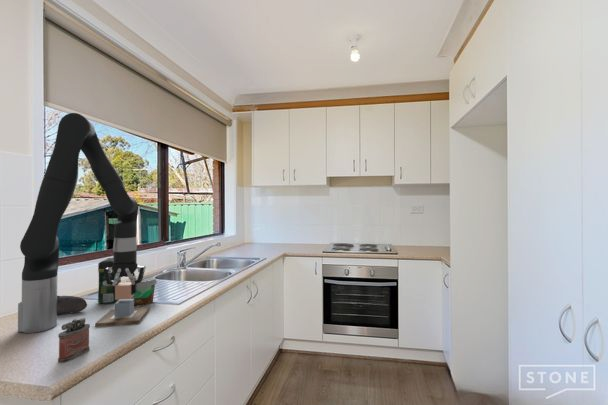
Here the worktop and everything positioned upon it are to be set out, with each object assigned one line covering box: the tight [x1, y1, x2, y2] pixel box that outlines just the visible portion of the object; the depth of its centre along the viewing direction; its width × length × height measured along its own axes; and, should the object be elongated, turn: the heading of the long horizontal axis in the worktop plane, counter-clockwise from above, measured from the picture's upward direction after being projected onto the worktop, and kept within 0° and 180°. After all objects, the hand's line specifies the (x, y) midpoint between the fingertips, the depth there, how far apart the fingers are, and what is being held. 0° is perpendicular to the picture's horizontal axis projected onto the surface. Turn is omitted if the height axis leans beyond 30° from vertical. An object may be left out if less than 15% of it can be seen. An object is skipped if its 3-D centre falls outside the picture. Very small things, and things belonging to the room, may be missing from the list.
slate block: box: [114, 299, 135, 317], centre depth 114 cm, size 5×5×5 cm
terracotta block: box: [115, 281, 134, 300], centre depth 114 cm, size 5×5×5 cm
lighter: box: [57, 317, 91, 364], centre depth 86 cm, size 8×3×10 cm, turn 163°
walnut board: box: [94, 306, 151, 328], centre depth 114 cm, size 14×14×1 cm
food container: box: [125, 278, 158, 307], centre depth 128 cm, size 12×6×10 cm, turn 105°
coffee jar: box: [97, 257, 122, 305], centre depth 133 cm, size 10×8×19 cm
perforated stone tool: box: [57, 295, 88, 315], centre depth 118 cm, size 15×5×7 cm, turn 104°
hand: (124, 294), depth 114 cm, fingers closed on terracotta block, 5 cm apart
